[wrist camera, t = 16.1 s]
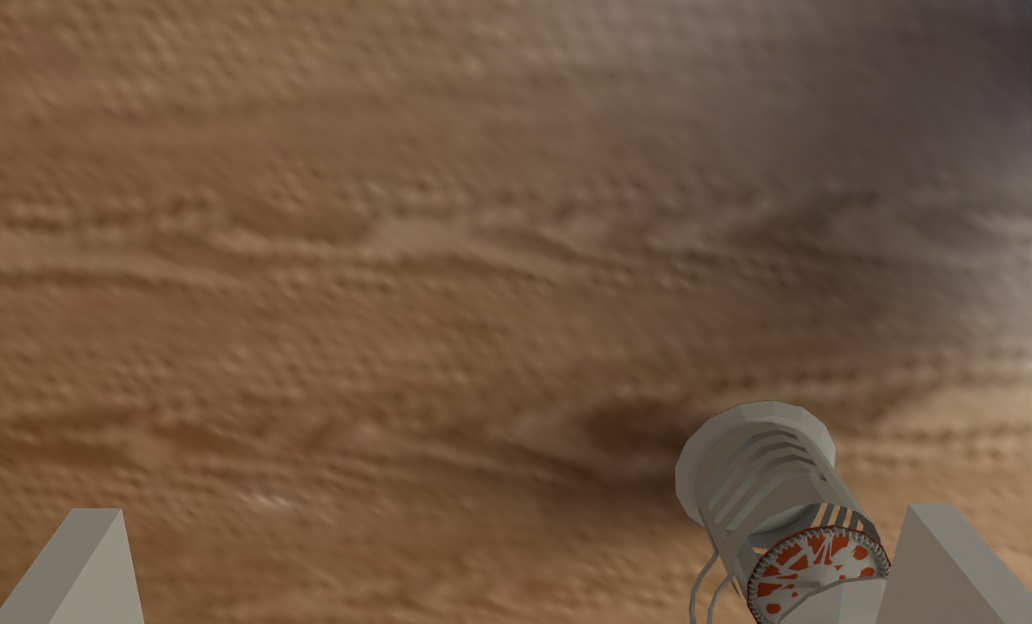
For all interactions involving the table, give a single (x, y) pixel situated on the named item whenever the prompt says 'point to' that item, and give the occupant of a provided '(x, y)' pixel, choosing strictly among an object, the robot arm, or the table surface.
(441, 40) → the table surface
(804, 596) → the french press
